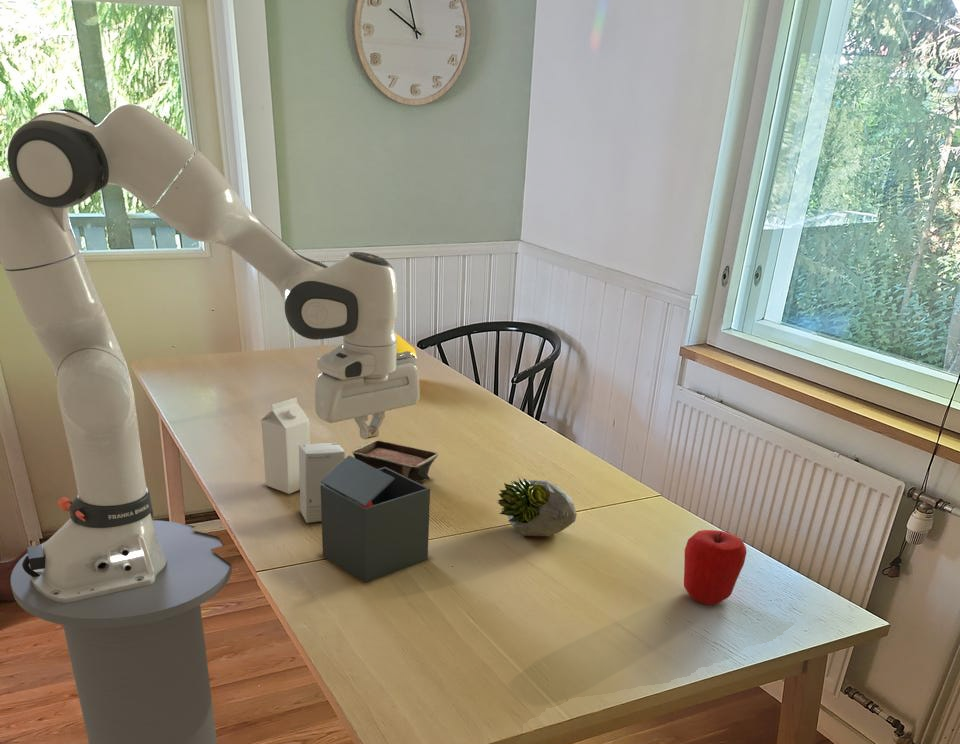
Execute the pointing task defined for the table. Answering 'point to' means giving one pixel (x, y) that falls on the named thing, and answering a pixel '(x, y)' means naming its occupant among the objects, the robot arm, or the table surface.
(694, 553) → the apple
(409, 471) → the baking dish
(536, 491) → the potted plant
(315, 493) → the cosmetic box
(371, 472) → the flap
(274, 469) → the milk carton
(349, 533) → the carton
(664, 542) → the table surface
